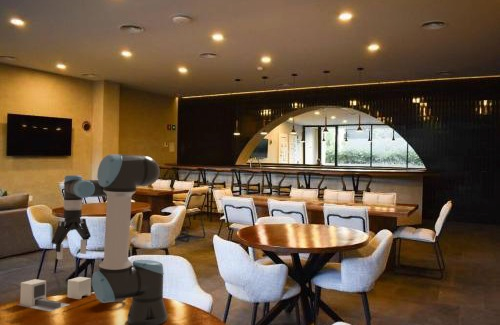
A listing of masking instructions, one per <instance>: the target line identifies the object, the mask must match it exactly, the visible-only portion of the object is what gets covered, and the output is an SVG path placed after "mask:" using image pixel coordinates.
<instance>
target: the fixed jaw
mask: <svg viewBox="0 0 500 325" xmlns="http://www.w3.org/2000/svg"><path fill="white" fill-rule="evenodd" d="M39 298H41V299H47V280H43V279H37V278H34V279H30V280H27V281H22V282H20V299H19V300H20V302H19V304H24V305H29V306H33V305H35V300H36V299H39Z"/></svg>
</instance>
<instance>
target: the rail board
mask: <svg viewBox="0 0 500 325" xmlns="http://www.w3.org/2000/svg"><path fill="white" fill-rule="evenodd" d="M70 305H71V304H70V303H65V302H61V301H57V300H52V299H51V300H50V299H47V298H46V299H41V298H39V299H36V300H35V305H33V306H29V305H24V304H20V303H19V304H17V306H20V307H25V308H29V309H30V308H31V309H36V310H40V311H45V312H53V311H56V310H59V309H61V308H64V307H67V306H70Z"/></svg>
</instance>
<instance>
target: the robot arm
mask: <svg viewBox="0 0 500 325" xmlns="http://www.w3.org/2000/svg"><path fill="white" fill-rule="evenodd" d="M160 170H161V169H160V166H159V164H158V162H157V161H156V160H155V159H153V158H152V157H150V156H146V155H135V154H134V155H133V154H120V153H118V154H115V153H114V154H106V155H105V156H104V157H103V158H102V160H101V161H100V162H99V165H98V168H97V174H96V177H97V179H83V176H82V175H77V174H76V175H73V174H72V175H71V174H70V175H69V174H67V175H65V176H64V181H63V185H64V186H63V218H64V221H63V220H61V221H60V220H59V221H58V222H57V223H58V224H57V227H56V230H55V233H54V235H53V237H52V239H51V243H52V244H54V245H55V252H56V260H63V259H64V258H63V255H64V254H63V253H64V244H62V243H63V242H64V240H65V238H66V237H67V235H68V234H69V233H70V232H71V231H74V230H75V231H76V232H77V233H78V235H79V237H81V239H80V248H79V249H80V253H79V254H81V255H86V254H87V247H88V243H87V242H88V240H89V239H90V238H91V233H90V231H89V227H88V225H87V219H86V218H82V216H83V215H82V214H83V213H82V212H83V211H82V207H83V202H82V200H83V199H87V198H97V197H99V198H100V197H106V208H105V209H106V211H105V212H106V213H105V214H106V215H105V227H104V228H105V231H104V233H105V234H104V247H103V248H104V252H103V260H102V261H101V262H100V263H99V264H98V266H99V267H98V270H95V271H94V272H93V273H92V277H91V287H92V291H93V293H94V295H95V297H96V299H97V300H98V301H99V302H100V303H102V304H103V303H104V304H106V303H115V302H114V301H118V300H122V299H125V300H127V299H131V298H132V302H131V304H130V308H129V310H128V314H127V321H126V322H127V324H128V325H162V324H164V323H165V322H166V321H167V320H168V312H167V309H166V306H165V302H164V274H165V273H164V265H163V264H162V262H159V261H157V260H151V259H150V260H149V259H135V260H133V261H132V262H131V260H129V250H130V232H131V231H130V228H131V212H132V211H131V210H132V196H133V195H134V194H135V193H136V192H137V188H138V187H149V186H151V185H153V184H154V183H156V182H157V180H158V179H159V178H160V174H161V172H160Z"/></svg>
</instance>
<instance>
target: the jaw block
mask: <svg viewBox="0 0 500 325" xmlns="http://www.w3.org/2000/svg"><path fill="white" fill-rule="evenodd" d="M91 287H92V277H84V276H77V277H74V278H71V279H67V295H66V296H67V298H70V299H75V300H81V299H82V297H83V296H85V297H90V296H91V295H92V294H91V293H92V288H91Z"/></svg>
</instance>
